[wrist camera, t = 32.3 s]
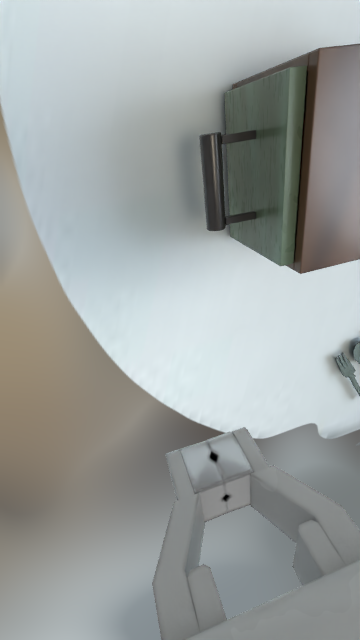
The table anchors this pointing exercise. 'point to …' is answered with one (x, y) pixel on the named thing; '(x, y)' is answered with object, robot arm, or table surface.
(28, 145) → the table surface
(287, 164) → the drawer
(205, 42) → the table surface
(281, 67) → the cabinet
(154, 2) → the table surface
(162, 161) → the table surface
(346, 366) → the cutlery set
